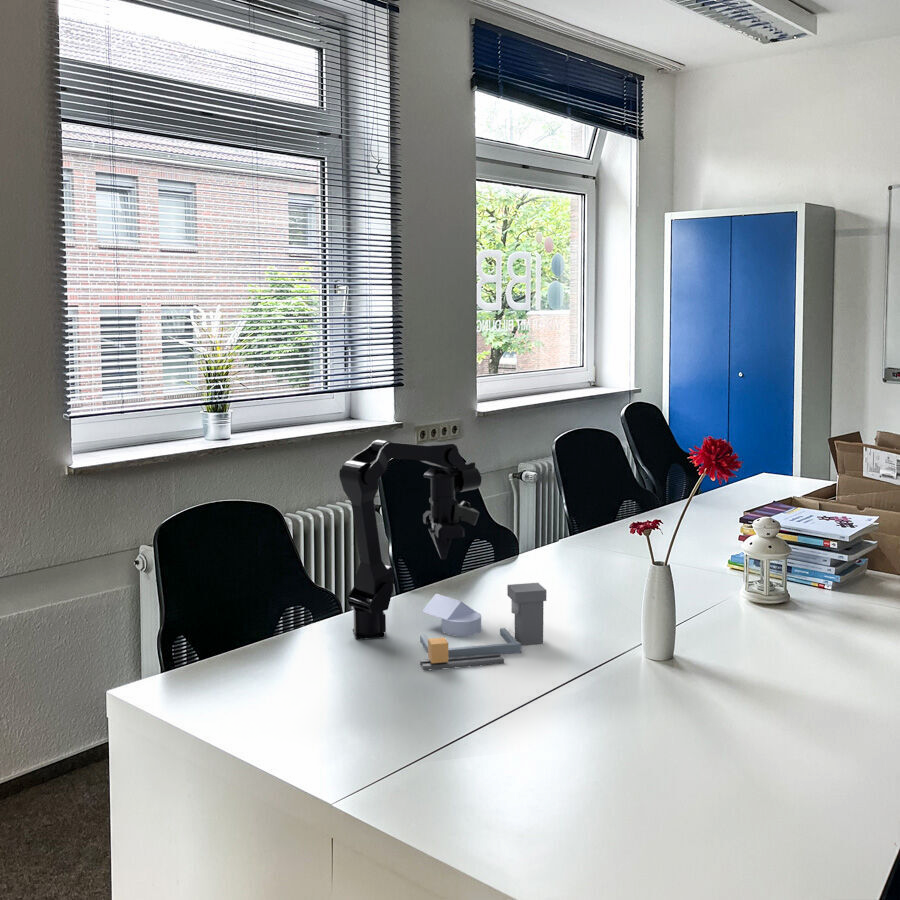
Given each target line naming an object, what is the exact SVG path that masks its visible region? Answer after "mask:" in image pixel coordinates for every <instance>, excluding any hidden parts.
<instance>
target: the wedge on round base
mask: <svg viewBox="0 0 900 900" xmlns="http://www.w3.org/2000/svg"><path fill="white" fill-rule="evenodd" d="M421 613H425V614H428V615H431V616H432V617H437V618H440V619H441V632H442V631H443V632H445V633H447V634H446V635H448V634H450V635H449V636H452V635H455V636H454V637H469V636H470V635H471V636H474V634H475V635H478V634H480V633H481V631H482V614H481V613H480V612H478V611H475V610H474V608H472V607H470V606H468V604H466V603H465V602H463V601H461V600H458V599H456V598H452V597H449V596H446V595H442V594H439V593H435V594H434V595H433V596H432V598H431V599H430V600H429V602H428V603H427V604H426V605H425V607H424V608H423V609H422V611H421ZM443 632H442V633H443ZM445 633H444V634H445Z"/></svg>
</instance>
